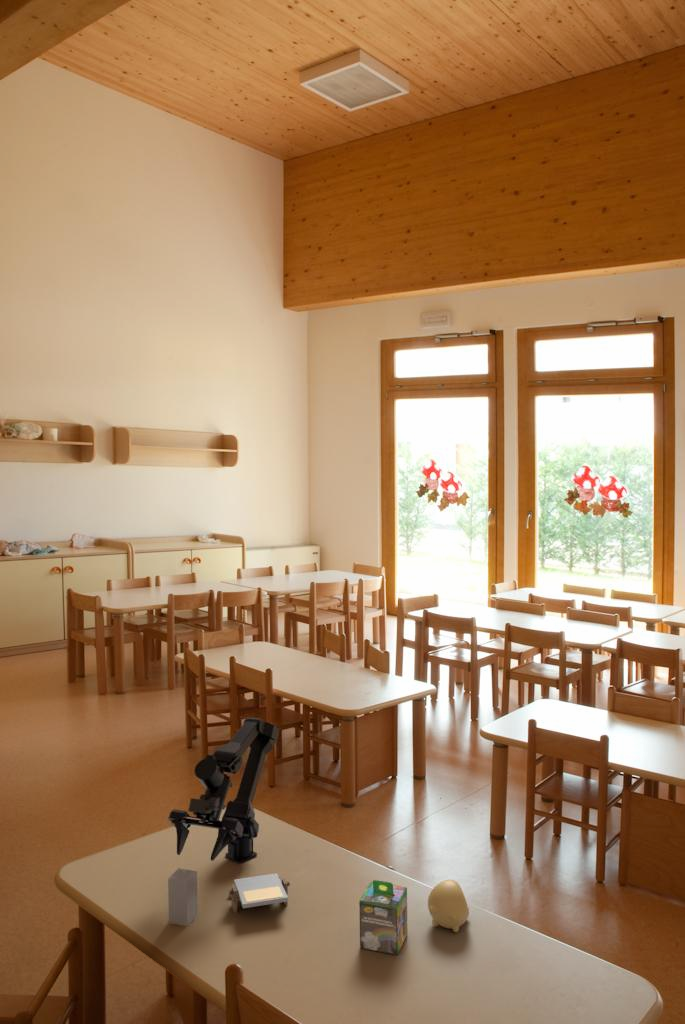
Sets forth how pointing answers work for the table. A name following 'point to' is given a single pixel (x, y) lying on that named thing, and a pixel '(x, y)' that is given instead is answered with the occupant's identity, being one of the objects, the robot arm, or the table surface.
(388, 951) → the chalk box
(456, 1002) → the table surface
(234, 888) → the trapdoor frame
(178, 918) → the tall grey rectangular block
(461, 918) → the toy pig
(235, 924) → the table surface
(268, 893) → the trapdoor
